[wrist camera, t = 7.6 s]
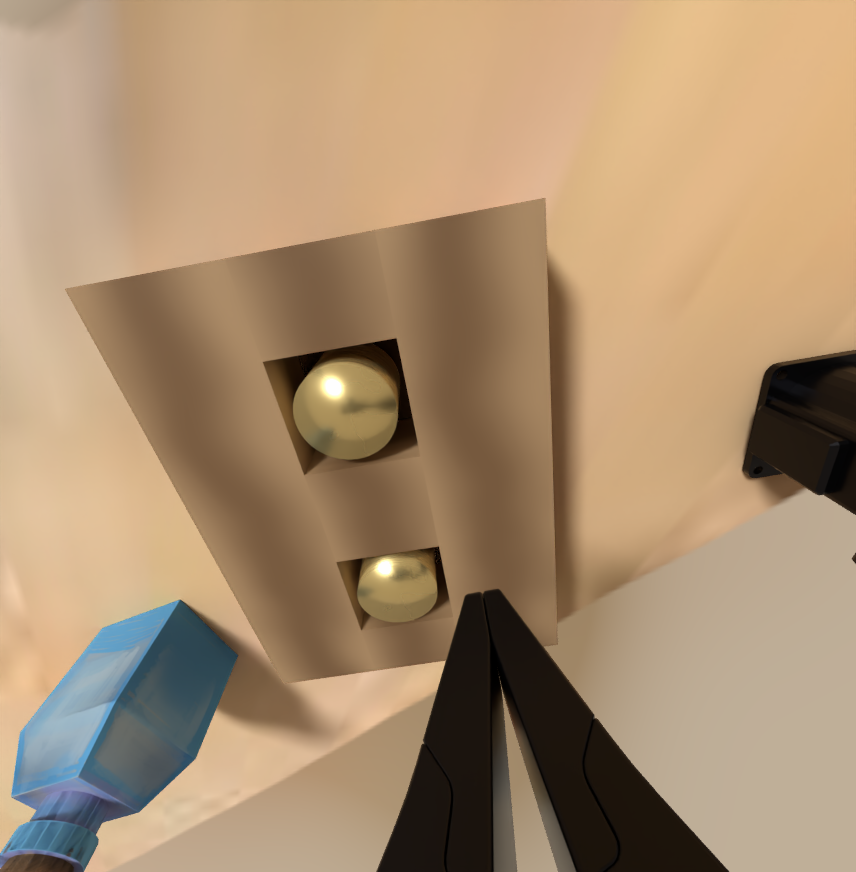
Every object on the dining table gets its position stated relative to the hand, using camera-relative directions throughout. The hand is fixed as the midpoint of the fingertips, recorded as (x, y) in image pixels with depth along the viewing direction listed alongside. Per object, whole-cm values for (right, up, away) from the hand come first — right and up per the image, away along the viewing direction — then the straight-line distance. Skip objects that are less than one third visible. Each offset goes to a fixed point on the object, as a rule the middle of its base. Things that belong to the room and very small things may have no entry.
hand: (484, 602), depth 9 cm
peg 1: (-5, +7, +9) cm, 12 cm away
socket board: (-4, +2, +12) cm, 13 cm away
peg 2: (-3, -2, +14) cm, 14 cm away
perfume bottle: (-19, -10, +18) cm, 28 cm away
